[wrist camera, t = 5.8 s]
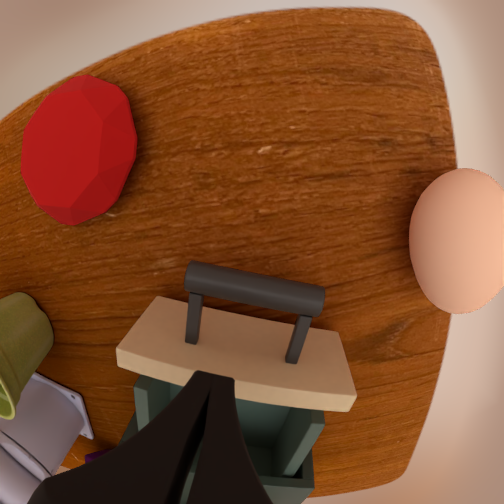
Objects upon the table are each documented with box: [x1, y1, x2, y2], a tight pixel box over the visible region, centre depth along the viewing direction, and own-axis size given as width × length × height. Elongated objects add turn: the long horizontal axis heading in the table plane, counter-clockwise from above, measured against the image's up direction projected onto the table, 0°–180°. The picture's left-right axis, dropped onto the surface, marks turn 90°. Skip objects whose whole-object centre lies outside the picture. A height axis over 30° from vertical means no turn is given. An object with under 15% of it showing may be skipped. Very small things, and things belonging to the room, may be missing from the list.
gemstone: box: [21, 75, 138, 225], centre depth 15 cm, size 9×9×3 cm
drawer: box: [116, 260, 357, 478], centre depth 16 cm, size 17×11×6 cm
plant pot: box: [0, 292, 54, 420], centre depth 17 cm, size 9×9×9 cm
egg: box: [409, 168, 504, 314], centre depth 13 cm, size 7×7×8 cm
